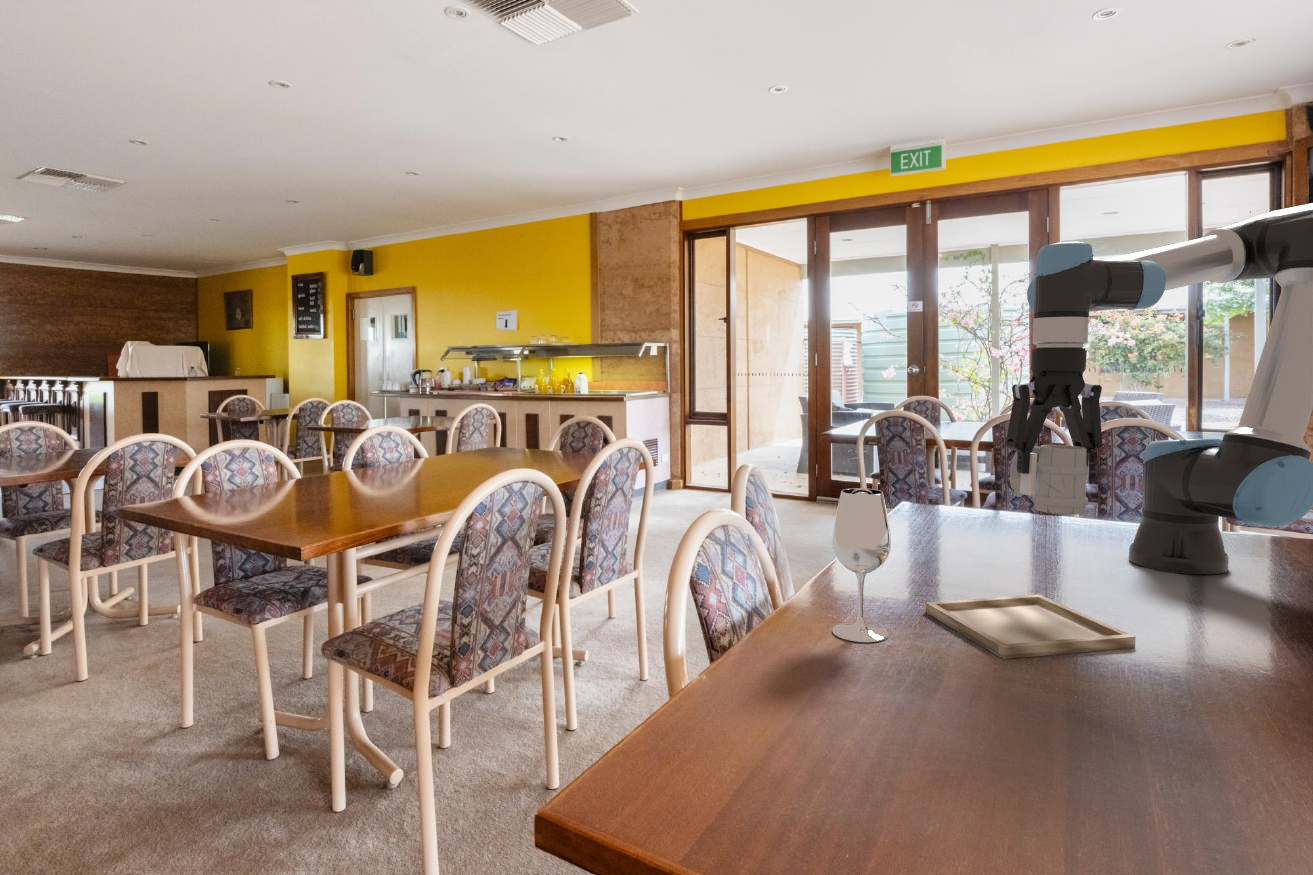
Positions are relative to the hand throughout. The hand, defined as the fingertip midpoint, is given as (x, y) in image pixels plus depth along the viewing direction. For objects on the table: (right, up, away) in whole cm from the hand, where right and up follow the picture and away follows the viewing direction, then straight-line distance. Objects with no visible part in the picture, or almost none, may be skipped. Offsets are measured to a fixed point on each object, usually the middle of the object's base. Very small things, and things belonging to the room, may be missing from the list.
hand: (1051, 493), depth 121 cm
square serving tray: (-10, -18, -12) cm, 24 cm away
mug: (-1, -2, 0) cm, 3 cm away
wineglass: (-33, -19, -13) cm, 40 cm away
